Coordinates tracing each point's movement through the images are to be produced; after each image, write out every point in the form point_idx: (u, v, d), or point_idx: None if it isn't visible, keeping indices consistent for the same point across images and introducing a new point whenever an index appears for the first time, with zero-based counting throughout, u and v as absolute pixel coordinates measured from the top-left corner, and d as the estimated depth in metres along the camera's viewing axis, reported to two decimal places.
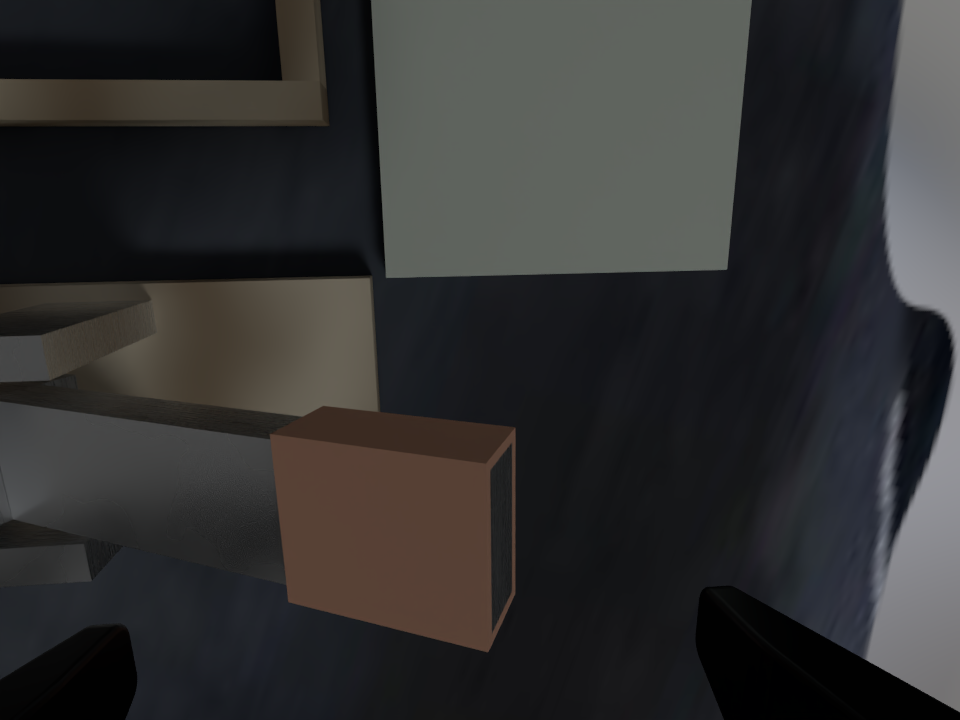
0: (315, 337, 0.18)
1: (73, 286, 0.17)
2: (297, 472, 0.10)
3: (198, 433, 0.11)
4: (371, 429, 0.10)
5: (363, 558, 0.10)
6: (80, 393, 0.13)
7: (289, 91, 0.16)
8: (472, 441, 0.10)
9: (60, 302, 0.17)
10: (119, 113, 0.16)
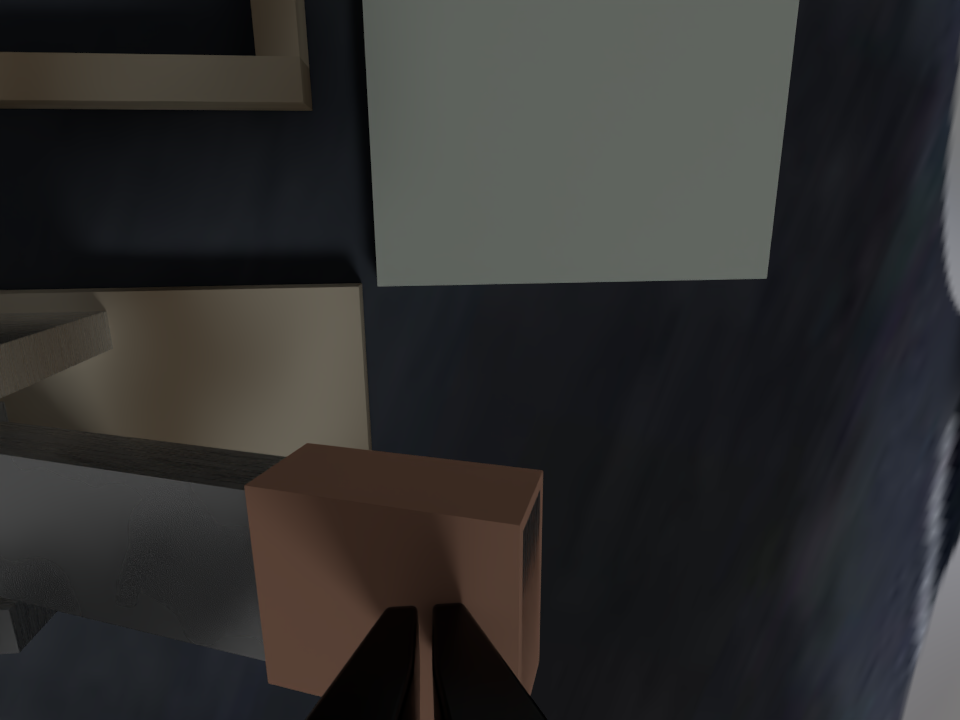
0: (296, 354, 0.16)
1: (14, 294, 0.15)
2: (279, 531, 0.08)
3: (153, 481, 0.09)
4: (369, 476, 0.08)
5: (361, 633, 0.08)
6: (7, 427, 0.11)
7: (264, 68, 0.14)
8: (496, 491, 0.08)
9: None
10: (63, 92, 0.13)
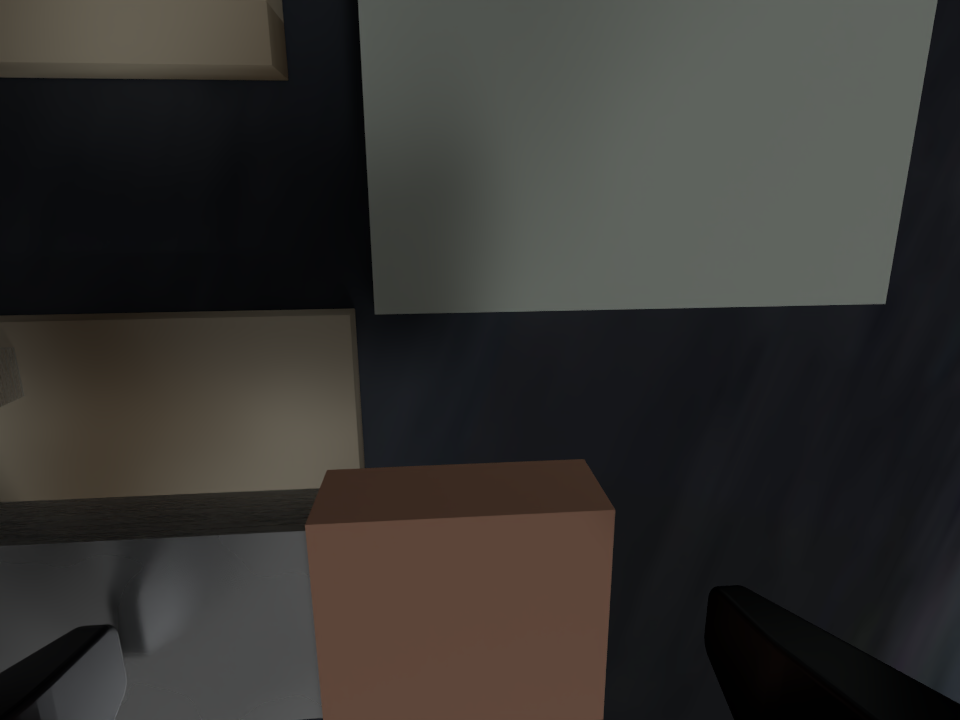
0: (267, 403, 0.12)
1: None
2: (349, 568, 0.07)
3: (163, 543, 0.07)
4: (432, 491, 0.08)
5: (444, 655, 0.08)
6: None
7: (217, 17, 0.10)
8: (564, 484, 0.08)
9: None
10: None
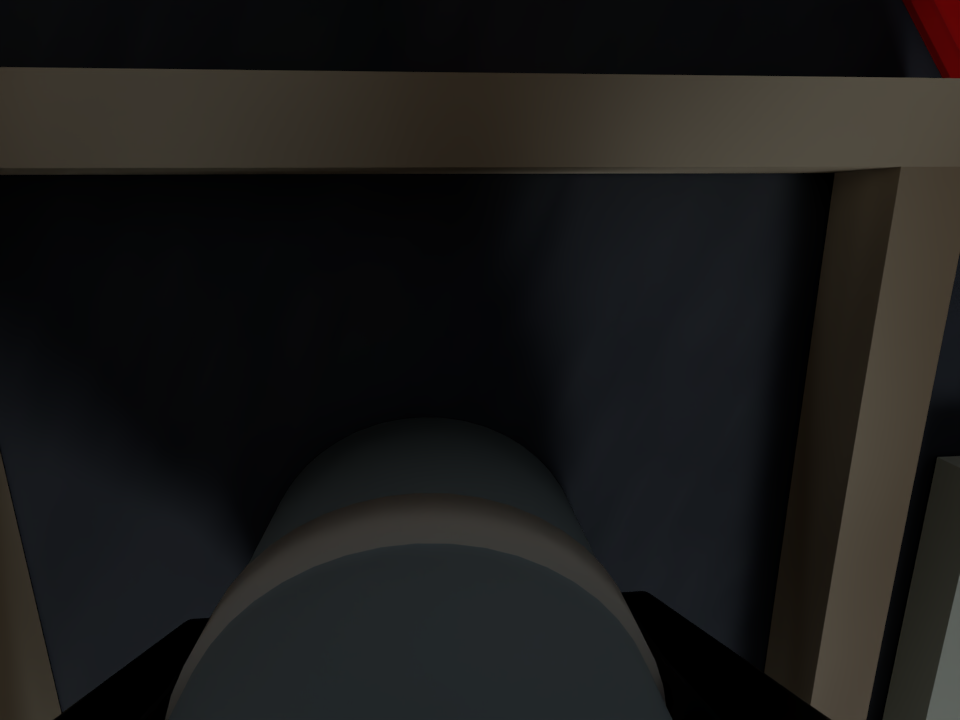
0: None
1: None
2: None
3: None
4: None
5: None
6: None
7: None
8: None
9: None
10: None
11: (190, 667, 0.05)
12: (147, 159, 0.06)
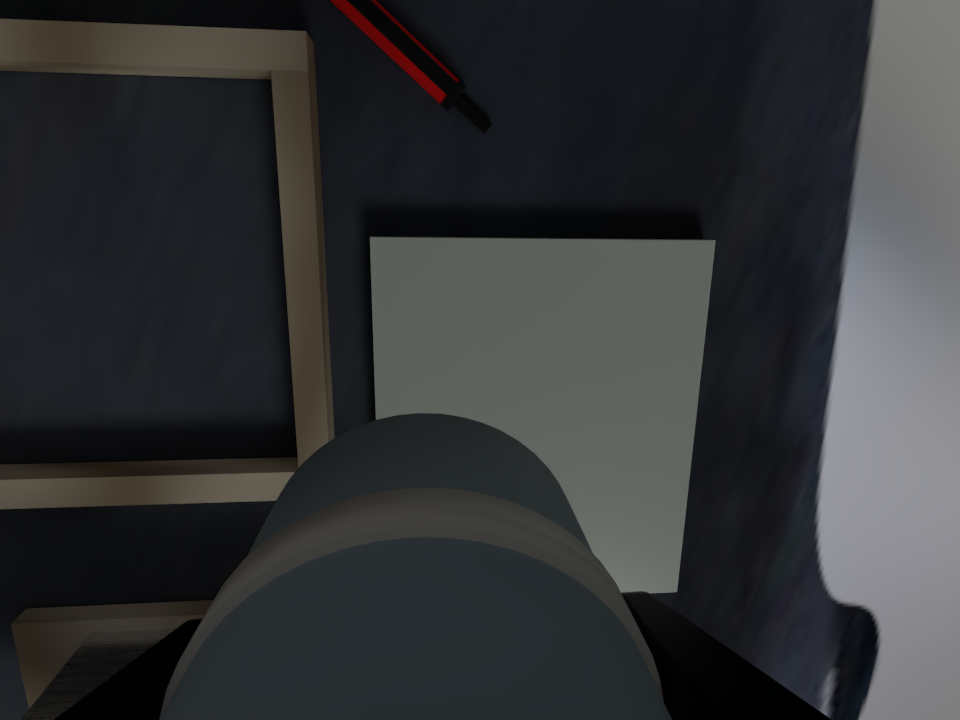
0: None
1: (114, 619, 0.20)
2: None
3: None
4: None
5: None
6: None
7: None
8: None
9: (103, 633, 0.20)
10: (160, 499, 0.19)
11: (184, 663, 0.05)
12: None
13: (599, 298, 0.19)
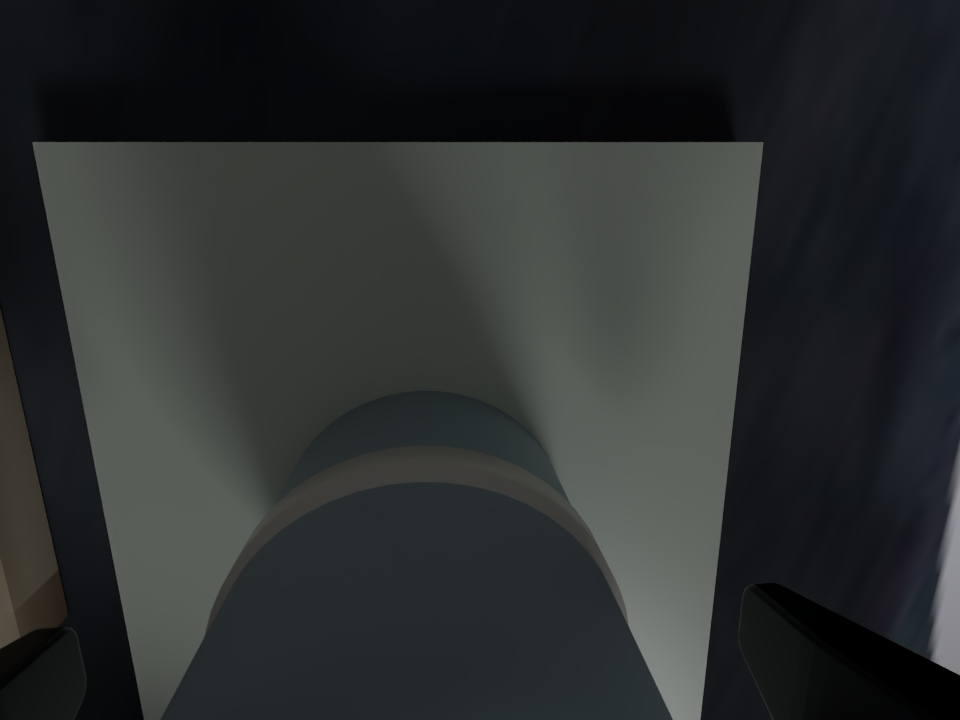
0: None
1: None
2: None
3: None
4: None
5: None
6: None
7: None
8: None
9: None
10: None
11: (226, 586, 0.07)
12: None
13: (531, 265, 0.09)
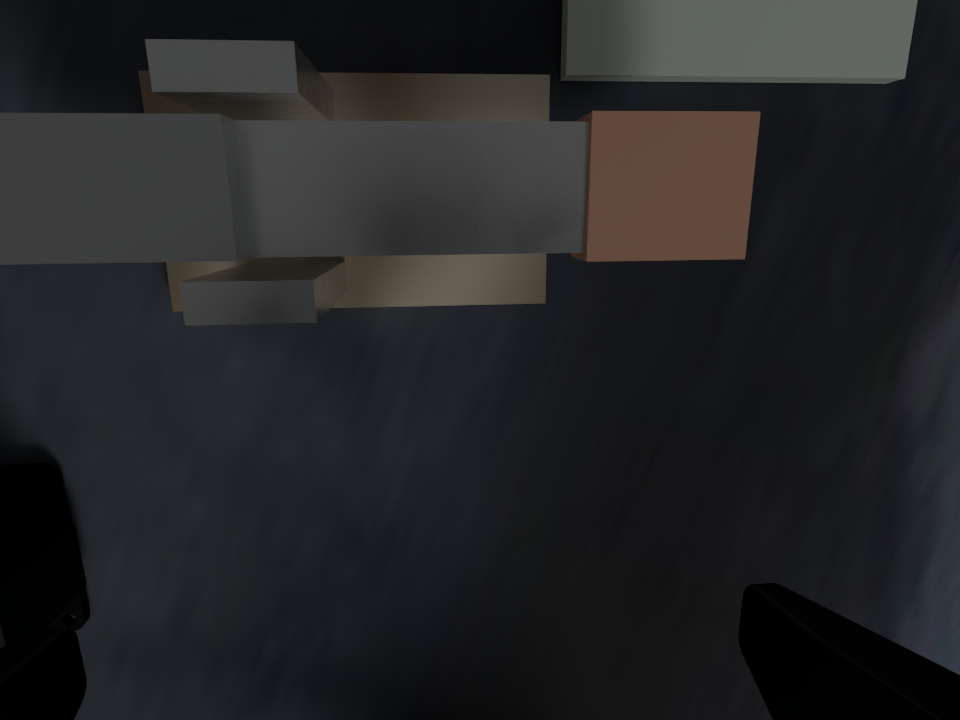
0: None
1: None
2: (612, 141, 0.13)
3: (511, 124, 0.13)
4: None
5: (659, 205, 0.14)
6: None
7: None
8: None
9: None
10: None
11: None
12: None
13: None
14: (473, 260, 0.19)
